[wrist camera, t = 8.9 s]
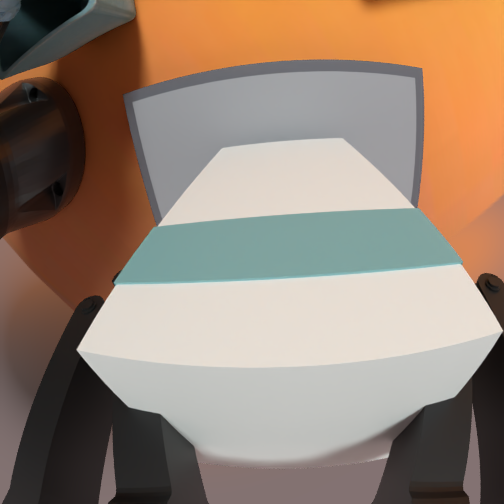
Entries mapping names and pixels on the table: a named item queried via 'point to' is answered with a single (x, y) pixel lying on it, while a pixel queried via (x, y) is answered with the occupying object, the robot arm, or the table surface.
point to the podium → (277, 118)
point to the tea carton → (291, 311)
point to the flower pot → (57, 30)
